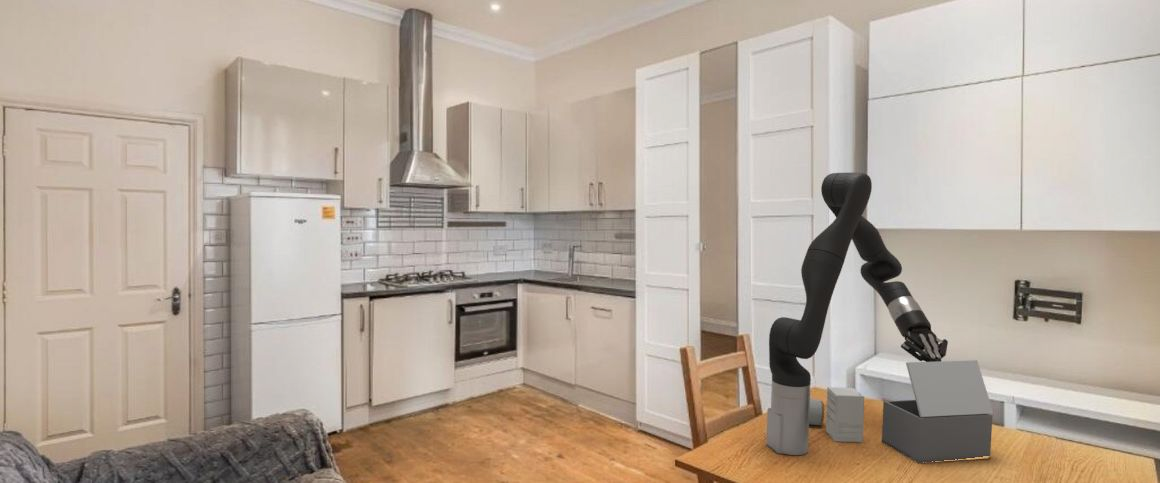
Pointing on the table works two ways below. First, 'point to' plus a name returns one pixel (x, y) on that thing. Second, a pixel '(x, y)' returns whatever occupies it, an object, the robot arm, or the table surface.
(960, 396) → the lid
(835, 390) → the supplement box
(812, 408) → the ceramic mug
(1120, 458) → the table surface
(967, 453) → the storage box
